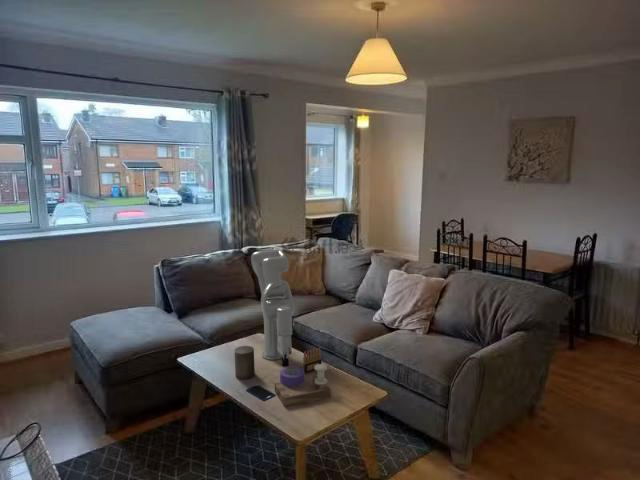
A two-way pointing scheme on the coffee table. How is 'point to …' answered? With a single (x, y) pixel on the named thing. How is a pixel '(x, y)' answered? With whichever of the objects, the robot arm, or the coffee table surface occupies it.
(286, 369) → the tape roll
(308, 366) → the ammunition clip
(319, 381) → the doorknob
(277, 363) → the coffee table surface
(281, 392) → the u-shaped wooden bracket
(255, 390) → the cell phone
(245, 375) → the pillar candle
